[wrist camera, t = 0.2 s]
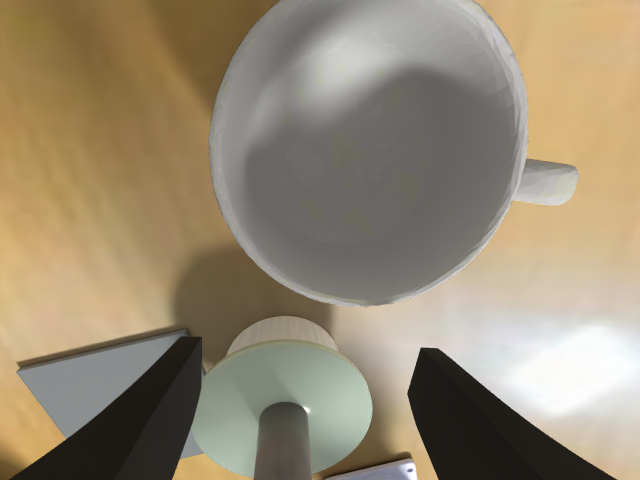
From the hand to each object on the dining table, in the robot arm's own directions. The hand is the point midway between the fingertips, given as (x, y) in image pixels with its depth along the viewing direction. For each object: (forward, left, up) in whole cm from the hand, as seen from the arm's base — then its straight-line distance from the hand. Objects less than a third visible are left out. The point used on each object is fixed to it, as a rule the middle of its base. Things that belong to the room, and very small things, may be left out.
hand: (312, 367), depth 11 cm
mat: (-9, +14, -10) cm, 20 cm away
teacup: (+5, -5, -10) cm, 12 cm away
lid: (-8, +3, -6) cm, 11 cm away
